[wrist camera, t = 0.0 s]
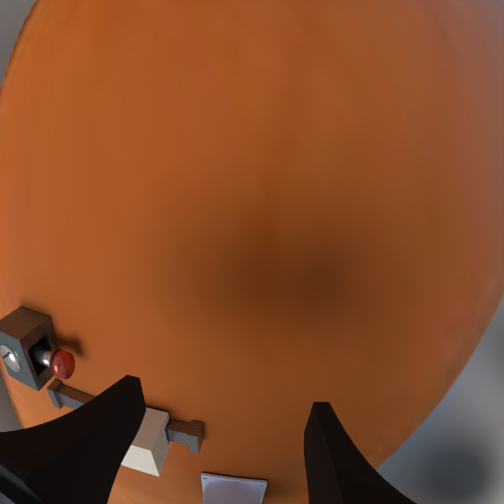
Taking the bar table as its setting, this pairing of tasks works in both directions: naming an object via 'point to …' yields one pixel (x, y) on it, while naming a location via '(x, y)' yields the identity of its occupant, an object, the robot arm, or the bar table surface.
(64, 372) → the plunger
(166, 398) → the bar table surface
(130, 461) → the carriage
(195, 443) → the rail
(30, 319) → the gauge cabinet
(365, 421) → the bar table surface
